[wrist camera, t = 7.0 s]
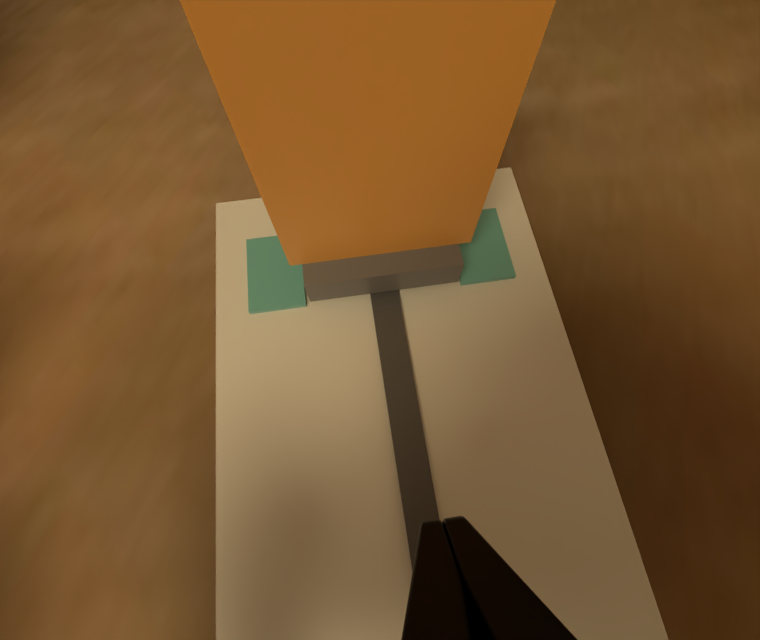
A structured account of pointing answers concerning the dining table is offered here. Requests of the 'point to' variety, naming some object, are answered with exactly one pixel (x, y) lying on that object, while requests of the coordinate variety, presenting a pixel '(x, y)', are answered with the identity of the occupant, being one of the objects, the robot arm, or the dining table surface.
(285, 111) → the fader
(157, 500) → the dining table surface
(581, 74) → the dining table surface
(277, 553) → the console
